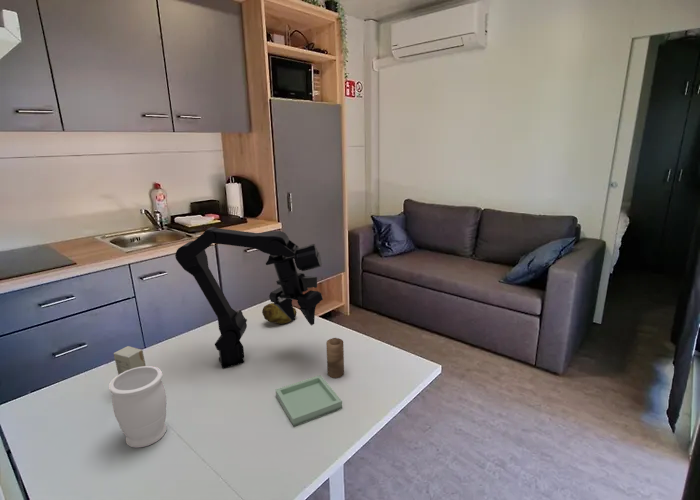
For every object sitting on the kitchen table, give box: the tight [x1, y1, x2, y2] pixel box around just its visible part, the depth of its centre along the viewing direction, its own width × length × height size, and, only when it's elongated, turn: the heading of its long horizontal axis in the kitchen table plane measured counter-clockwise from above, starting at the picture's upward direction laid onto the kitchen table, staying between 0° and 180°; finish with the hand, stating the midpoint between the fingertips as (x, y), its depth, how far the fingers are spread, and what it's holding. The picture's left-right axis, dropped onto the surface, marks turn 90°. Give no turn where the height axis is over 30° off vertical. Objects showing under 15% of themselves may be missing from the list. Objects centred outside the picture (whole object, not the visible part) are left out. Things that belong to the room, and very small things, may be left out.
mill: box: [326, 337, 345, 379], centre depth 110 cm, size 5×5×11 cm
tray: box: [275, 374, 343, 427], centre depth 99 cm, size 13×13×2 cm
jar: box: [108, 365, 167, 448], centre depth 87 cm, size 11×10×15 cm
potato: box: [261, 302, 297, 325], centre depth 143 cm, size 8×13×8 cm, turn 109°
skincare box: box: [113, 345, 147, 375], centre depth 103 cm, size 6×4×12 cm
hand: (302, 322), depth 115 cm, fingers open, 9 cm apart
